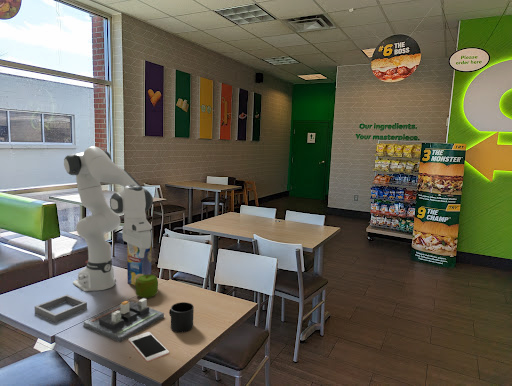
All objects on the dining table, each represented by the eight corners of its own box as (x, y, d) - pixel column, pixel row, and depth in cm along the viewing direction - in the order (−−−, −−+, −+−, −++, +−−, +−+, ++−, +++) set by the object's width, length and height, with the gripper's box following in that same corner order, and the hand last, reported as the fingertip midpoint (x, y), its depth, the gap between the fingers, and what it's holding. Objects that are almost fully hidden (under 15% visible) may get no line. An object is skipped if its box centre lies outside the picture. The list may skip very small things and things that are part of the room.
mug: (176, 317, 157) (177, 298, 156) (197, 325, 151) (198, 305, 150) (161, 326, 149) (161, 306, 148) (182, 335, 143) (183, 314, 142)
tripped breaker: (120, 312, 150) (120, 302, 150) (126, 310, 153) (126, 300, 152) (123, 314, 149) (123, 304, 149) (129, 311, 152) (129, 301, 151)
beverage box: (137, 278, 199) (136, 241, 196) (151, 283, 194) (151, 244, 191) (127, 282, 193) (127, 244, 190) (141, 287, 188) (141, 247, 185)
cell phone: (149, 333, 144) (149, 331, 144) (169, 354, 131) (169, 351, 131) (127, 340, 138) (127, 338, 138) (147, 363, 125) (147, 360, 125)
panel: (83, 326, 147) (83, 308, 146) (129, 304, 167) (129, 288, 166) (119, 342, 136) (119, 323, 135) (163, 317, 157) (164, 300, 156)
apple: (151, 289, 186) (151, 269, 185) (162, 295, 179) (162, 275, 177) (131, 294, 178) (131, 274, 177) (141, 302, 171) (141, 280, 169)
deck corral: (34, 312, 156) (34, 306, 155) (66, 300, 169) (66, 294, 168) (55, 322, 149) (54, 315, 148) (87, 308, 162) (86, 302, 161)
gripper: (118, 220, 154) (119, 251, 156) (139, 228, 140) (140, 262, 141) (131, 218, 159) (132, 248, 160) (153, 226, 144) (154, 258, 146)
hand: (136, 254), depth 151 cm, fingers open, 8 cm apart
